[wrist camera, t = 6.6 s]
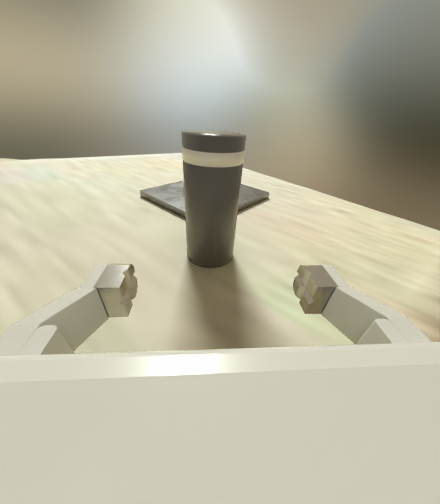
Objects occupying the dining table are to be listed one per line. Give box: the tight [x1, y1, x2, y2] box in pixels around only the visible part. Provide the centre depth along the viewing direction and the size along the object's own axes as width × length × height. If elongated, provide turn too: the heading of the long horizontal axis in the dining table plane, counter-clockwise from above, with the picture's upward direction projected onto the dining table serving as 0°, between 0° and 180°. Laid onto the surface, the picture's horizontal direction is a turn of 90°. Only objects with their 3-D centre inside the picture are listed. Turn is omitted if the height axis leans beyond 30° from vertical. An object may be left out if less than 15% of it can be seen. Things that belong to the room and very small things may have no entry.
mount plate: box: [140, 179, 269, 218], centre depth 38 cm, size 18×16×3 cm
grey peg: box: [182, 130, 246, 268], centre depth 20 cm, size 5×5×12 cm
